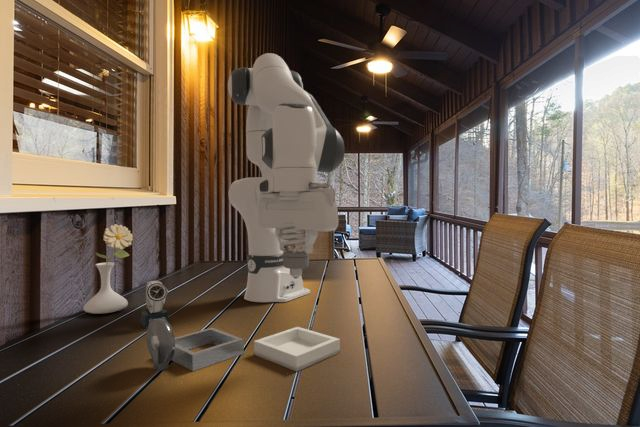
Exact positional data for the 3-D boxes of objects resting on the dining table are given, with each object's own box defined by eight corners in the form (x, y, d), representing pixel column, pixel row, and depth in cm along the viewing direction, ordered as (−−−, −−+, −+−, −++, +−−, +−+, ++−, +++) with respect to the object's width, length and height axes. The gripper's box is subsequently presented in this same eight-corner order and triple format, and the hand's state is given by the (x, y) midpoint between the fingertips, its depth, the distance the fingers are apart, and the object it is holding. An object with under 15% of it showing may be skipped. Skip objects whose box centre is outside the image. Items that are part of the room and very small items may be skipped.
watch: (147, 330, 98) (146, 285, 98) (139, 322, 105) (138, 280, 105) (170, 325, 102) (169, 282, 101) (161, 318, 108) (160, 277, 108)
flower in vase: (82, 319, 108) (79, 226, 107) (84, 309, 118) (82, 224, 117) (135, 312, 114) (133, 224, 113) (133, 303, 124) (131, 222, 123)
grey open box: (212, 340, 90) (211, 300, 90) (243, 353, 83) (243, 309, 82) (141, 362, 79) (140, 315, 78) (169, 379, 71) (168, 327, 71)
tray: (297, 338, 91) (297, 326, 91) (340, 352, 83) (339, 338, 83) (254, 354, 82) (253, 340, 82) (296, 371, 74) (296, 356, 73)
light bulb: (282, 276, 84) (281, 218, 84) (308, 275, 85) (308, 218, 85) (281, 281, 79) (281, 220, 78) (310, 280, 79) (310, 219, 79)
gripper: (345, 182, 77) (345, 254, 77) (274, 185, 90) (274, 246, 91) (322, 181, 72) (323, 258, 72) (251, 184, 86) (252, 249, 86)
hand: (295, 251), depth 82 cm, fingers closed on light bulb, 5 cm apart
